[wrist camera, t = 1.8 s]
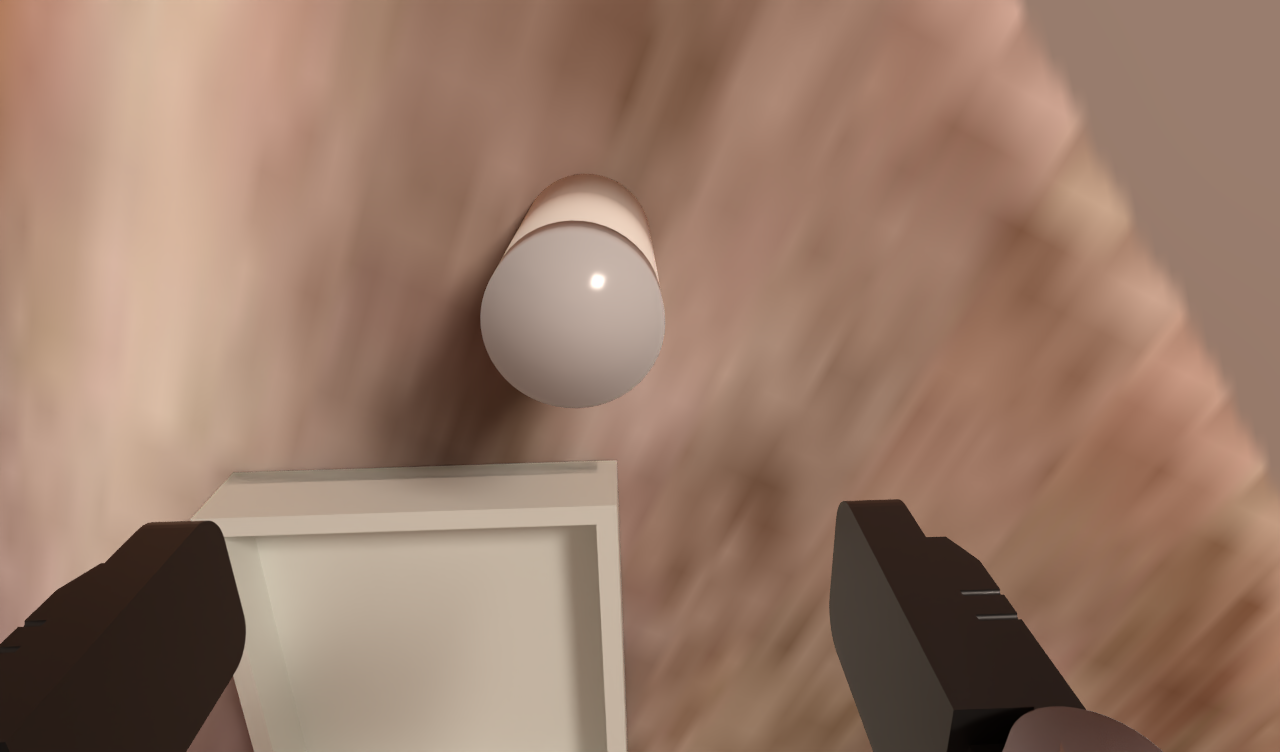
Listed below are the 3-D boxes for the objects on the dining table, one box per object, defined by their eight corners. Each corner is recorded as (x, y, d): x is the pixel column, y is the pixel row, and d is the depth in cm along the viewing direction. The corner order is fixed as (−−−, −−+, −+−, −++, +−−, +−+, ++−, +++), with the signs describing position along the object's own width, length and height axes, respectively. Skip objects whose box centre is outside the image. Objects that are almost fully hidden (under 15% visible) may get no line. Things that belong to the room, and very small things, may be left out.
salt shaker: (528, 300, 30) (489, 411, 21) (519, 175, 28) (471, 235, 19) (650, 296, 30) (666, 405, 21) (648, 171, 28) (664, 230, 19)
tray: (310, 788, 39) (282, 855, 36) (233, 472, 32) (190, 519, 29) (628, 776, 39) (629, 841, 36) (616, 460, 33) (616, 505, 29)
